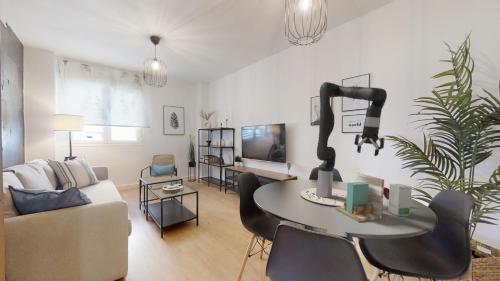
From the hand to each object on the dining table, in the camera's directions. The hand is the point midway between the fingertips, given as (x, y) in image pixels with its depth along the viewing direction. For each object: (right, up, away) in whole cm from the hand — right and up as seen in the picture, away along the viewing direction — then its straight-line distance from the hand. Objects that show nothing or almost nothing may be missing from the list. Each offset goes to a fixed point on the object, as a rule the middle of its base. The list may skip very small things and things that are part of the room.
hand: (367, 154), depth 115 cm
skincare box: (+15, -32, -4) cm, 36 cm away
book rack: (-9, -31, -6) cm, 33 cm away
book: (-9, -30, -6) cm, 32 cm away
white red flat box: (+24, -32, +10) cm, 41 cm away
